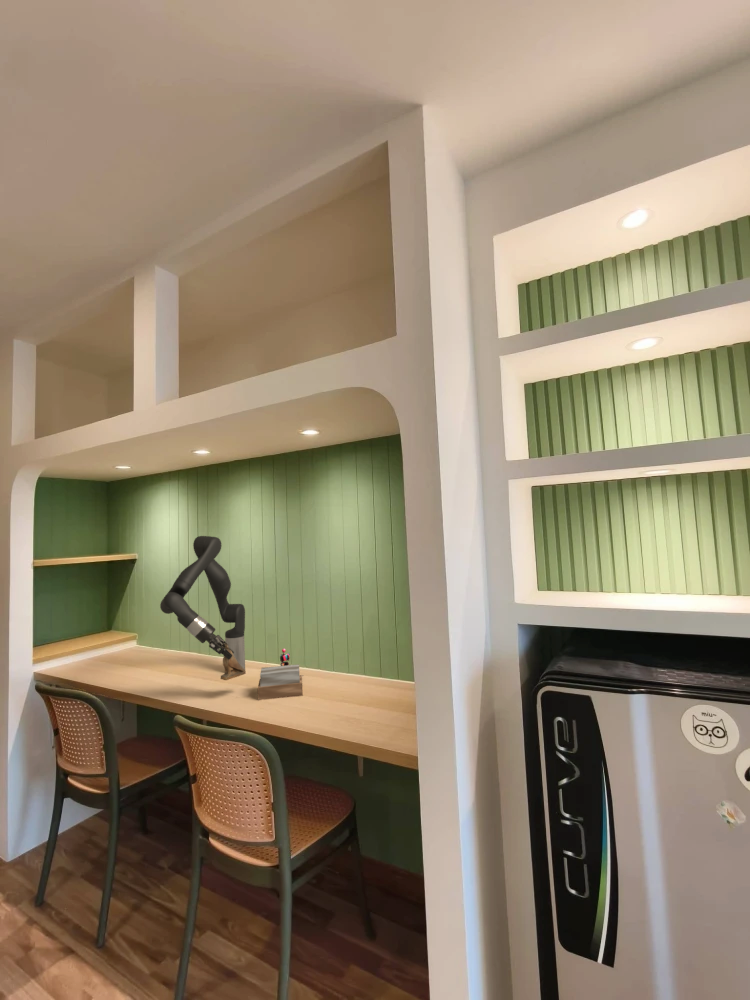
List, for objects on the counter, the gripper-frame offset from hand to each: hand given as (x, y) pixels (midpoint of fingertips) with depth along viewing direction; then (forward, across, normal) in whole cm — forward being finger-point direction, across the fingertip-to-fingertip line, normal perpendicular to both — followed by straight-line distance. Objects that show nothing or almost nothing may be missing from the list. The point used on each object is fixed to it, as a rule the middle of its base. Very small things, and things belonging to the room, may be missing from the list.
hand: (231, 655), depth 205 cm
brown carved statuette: (+7, +2, +6) cm, 9 cm away
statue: (+29, +17, -4) cm, 33 cm away
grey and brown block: (+26, 0, -2) cm, 26 cm away
